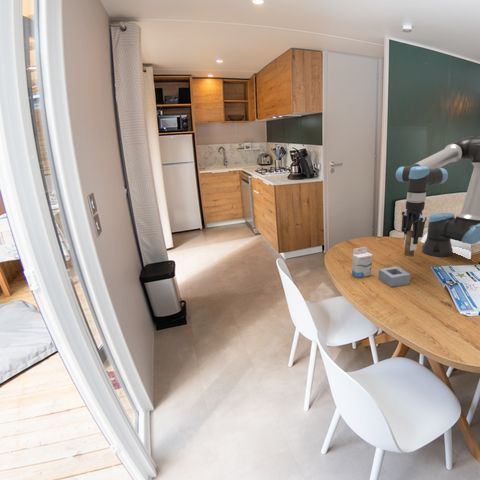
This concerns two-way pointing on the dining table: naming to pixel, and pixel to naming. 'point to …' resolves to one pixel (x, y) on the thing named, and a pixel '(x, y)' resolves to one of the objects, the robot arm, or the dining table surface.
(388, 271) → the socket
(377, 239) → the dining table surface
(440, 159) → the robot arm
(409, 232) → the peg
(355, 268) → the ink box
